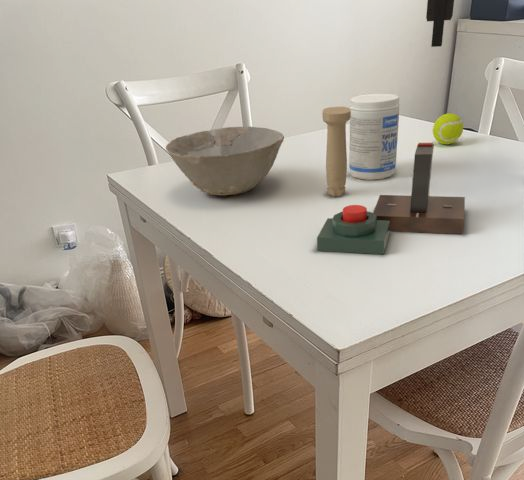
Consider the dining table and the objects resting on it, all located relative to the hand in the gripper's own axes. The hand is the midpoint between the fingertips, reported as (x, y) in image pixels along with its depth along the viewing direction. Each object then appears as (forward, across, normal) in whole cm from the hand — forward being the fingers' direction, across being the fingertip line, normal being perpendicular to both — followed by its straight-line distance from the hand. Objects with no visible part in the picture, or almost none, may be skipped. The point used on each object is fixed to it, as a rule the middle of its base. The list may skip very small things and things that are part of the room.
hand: (436, 45), depth 84 cm
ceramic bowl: (+25, +38, -2) cm, 45 cm away
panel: (+24, 0, +11) cm, 27 cm away
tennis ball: (+25, -3, -38) cm, 45 cm away
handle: (+25, +16, -1) cm, 29 cm away
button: (+21, +9, +21) cm, 31 cm away
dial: (+22, 0, +11) cm, 24 cm away
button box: (+24, +9, +21) cm, 33 cm away
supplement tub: (+25, +11, -14) cm, 30 cm away
